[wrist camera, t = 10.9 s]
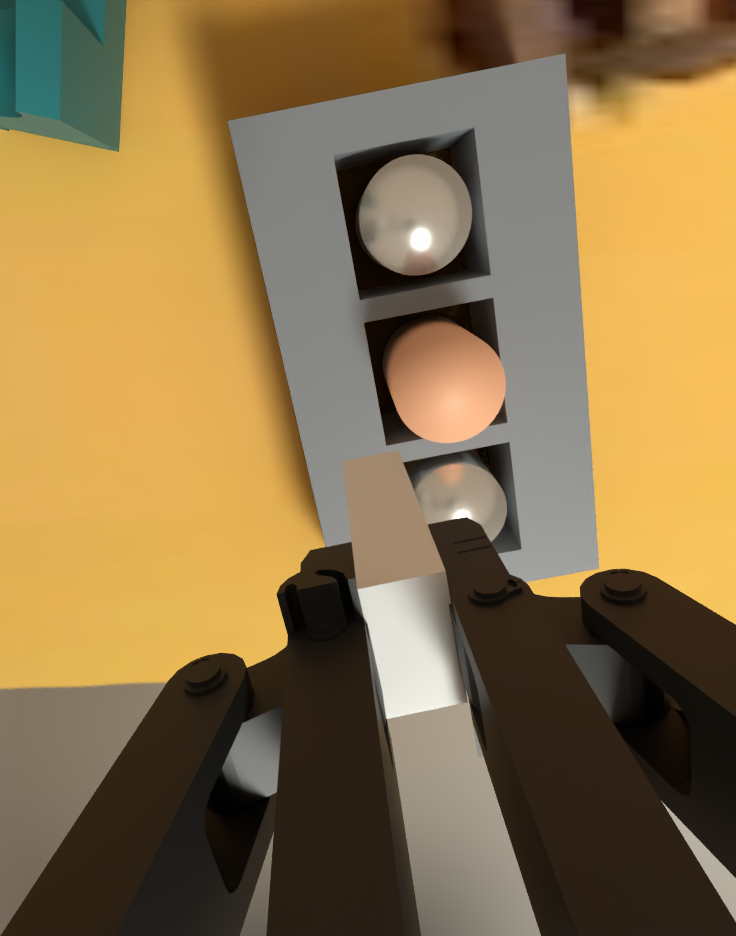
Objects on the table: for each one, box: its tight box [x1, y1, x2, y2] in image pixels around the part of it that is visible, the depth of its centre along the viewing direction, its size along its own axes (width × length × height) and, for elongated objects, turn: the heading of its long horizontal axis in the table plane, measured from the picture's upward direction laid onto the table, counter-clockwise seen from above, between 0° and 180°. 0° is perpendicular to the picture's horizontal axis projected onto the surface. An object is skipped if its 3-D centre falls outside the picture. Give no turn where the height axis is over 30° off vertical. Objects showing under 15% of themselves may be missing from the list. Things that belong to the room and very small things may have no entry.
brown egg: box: [383, 316, 506, 443], centre depth 30 cm, size 5×5×6 cm
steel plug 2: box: [403, 449, 507, 542], centre depth 34 cm, size 5×5×6 cm
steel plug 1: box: [356, 154, 472, 275], centre depth 30 cm, size 5×5×6 cm
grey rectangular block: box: [228, 54, 599, 582], centre depth 32 cm, size 14×24×6 cm, turn 10°
